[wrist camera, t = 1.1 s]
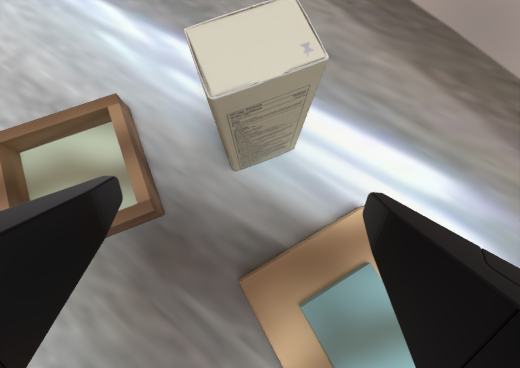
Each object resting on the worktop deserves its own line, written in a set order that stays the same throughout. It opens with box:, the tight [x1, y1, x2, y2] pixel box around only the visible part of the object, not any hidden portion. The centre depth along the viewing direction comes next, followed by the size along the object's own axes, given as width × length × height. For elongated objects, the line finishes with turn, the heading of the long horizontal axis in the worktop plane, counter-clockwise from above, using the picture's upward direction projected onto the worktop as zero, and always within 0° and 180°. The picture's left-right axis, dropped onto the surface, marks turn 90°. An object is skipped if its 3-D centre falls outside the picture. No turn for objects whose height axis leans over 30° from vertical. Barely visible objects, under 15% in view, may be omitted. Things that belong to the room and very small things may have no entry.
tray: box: [0, 93, 165, 237], centre depth 21 cm, size 11×11×2 cm
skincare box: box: [184, 0, 329, 171], centre depth 18 cm, size 6×4×12 cm
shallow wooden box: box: [239, 205, 415, 368], centre depth 19 cm, size 18×12×3 cm, turn 30°
